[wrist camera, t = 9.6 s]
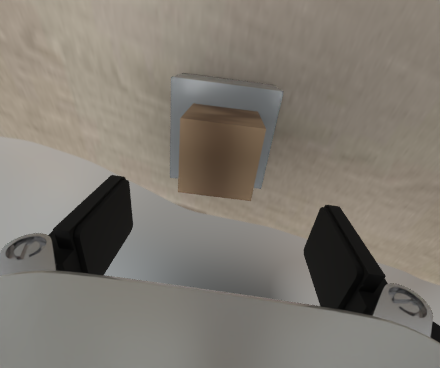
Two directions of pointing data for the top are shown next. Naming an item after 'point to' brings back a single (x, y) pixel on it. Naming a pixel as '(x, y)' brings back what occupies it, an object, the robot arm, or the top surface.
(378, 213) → the top surface
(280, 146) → the top surface
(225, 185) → the walnut block
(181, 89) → the slate stand
